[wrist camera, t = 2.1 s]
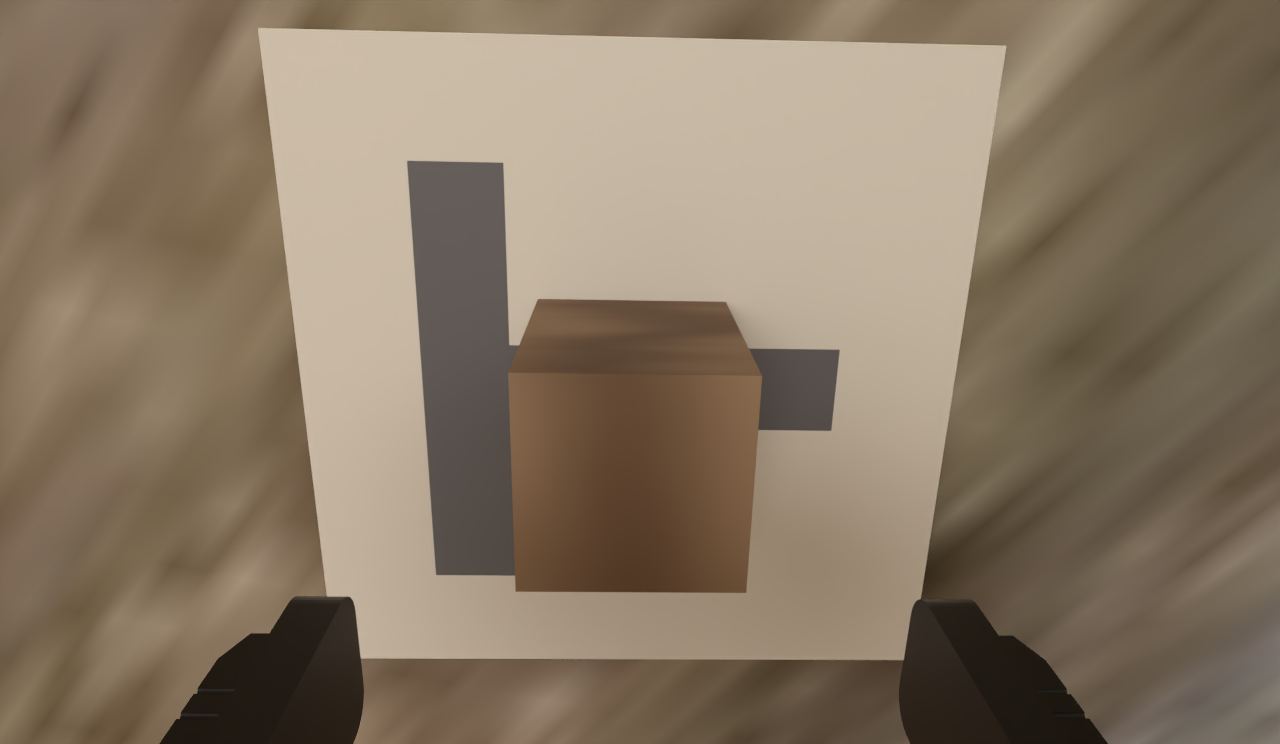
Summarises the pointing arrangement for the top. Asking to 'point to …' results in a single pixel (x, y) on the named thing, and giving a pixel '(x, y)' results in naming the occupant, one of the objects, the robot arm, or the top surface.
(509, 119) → the board
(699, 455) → the walnut block
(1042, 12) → the top surface
